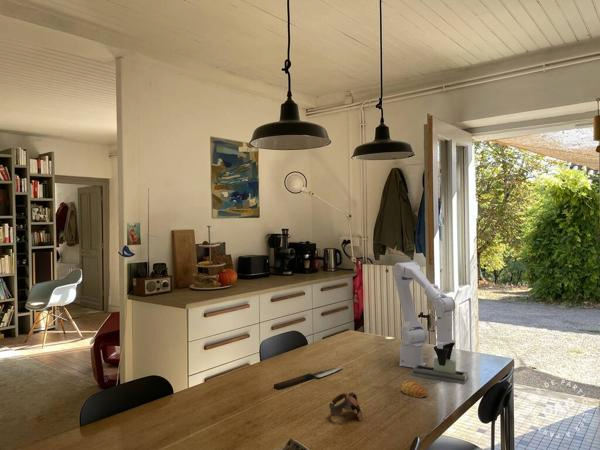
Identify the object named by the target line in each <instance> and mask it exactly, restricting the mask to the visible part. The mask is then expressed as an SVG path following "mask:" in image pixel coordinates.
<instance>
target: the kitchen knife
mask: <svg viewBox="0 0 600 450" xmlns="http://www.w3.org/2000/svg"><path fill="white" fill-rule="evenodd" d="M343 368H344V366H336V367H332V368H327V369H324V370H321V371H318V372H314V373H311V372H310V373H306V374H303V375H300V376H297V377H294V378H290V379H288V380H283V381H281V382H277V383H274V384H273V389H275V390H278V391H279V390H284V389H286V388H290V387H292V386H293V387H294V386H296V385H299V384H302V383H305V382H308V381H311V380H313V379H314V378H317V379H318V378H319V379H320V378H322V377H325V376H329V375H331V374H333V373H335V372H337V371H340V370H341V369H343Z"/></svg>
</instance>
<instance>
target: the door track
mask: <svg viewBox="0 0 600 450" xmlns="http://www.w3.org/2000/svg"><path fill="white" fill-rule="evenodd" d="M468 374H469V373H468V372H465V371H459V370H456V374H451V373H445V372H438V371H434V366H433V367H432V366H427V365H425V366H422V365H416V366H415V367H414V368H412V372H411V376H413V377H420V378H425V379H429V380H437V381H443V382H448V383H454V384H460V385H465V383H466V382H467V381H468V379H469V375H468Z"/></svg>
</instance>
